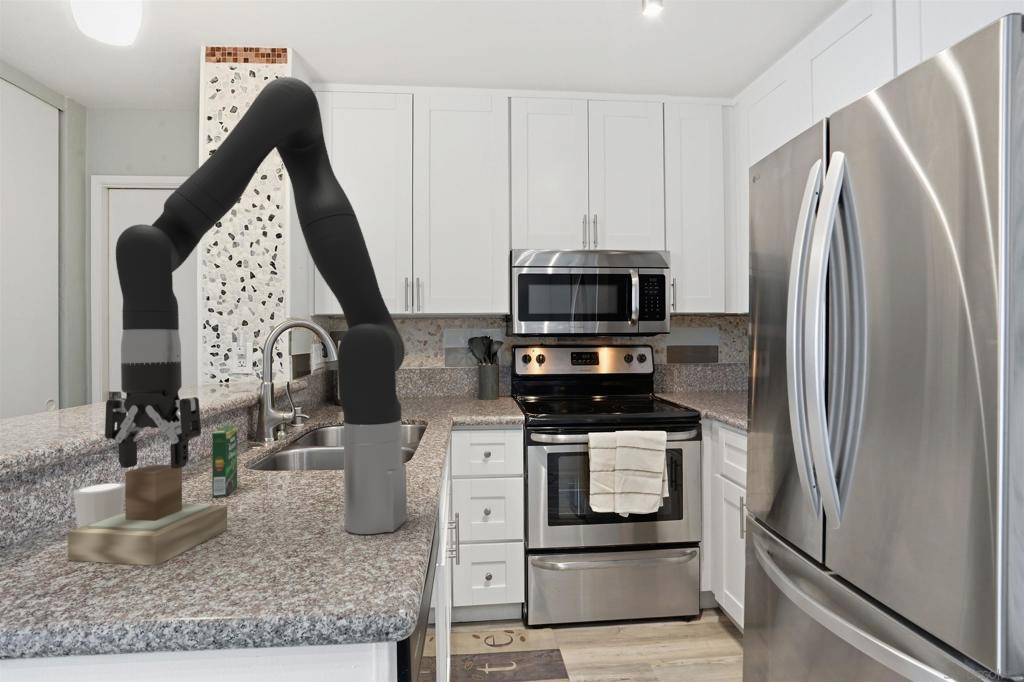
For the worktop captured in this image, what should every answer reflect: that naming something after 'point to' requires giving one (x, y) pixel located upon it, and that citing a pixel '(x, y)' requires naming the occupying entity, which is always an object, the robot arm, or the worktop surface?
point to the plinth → (146, 536)
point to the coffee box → (224, 461)
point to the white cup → (98, 502)
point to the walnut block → (153, 492)
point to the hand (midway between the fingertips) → (153, 467)
